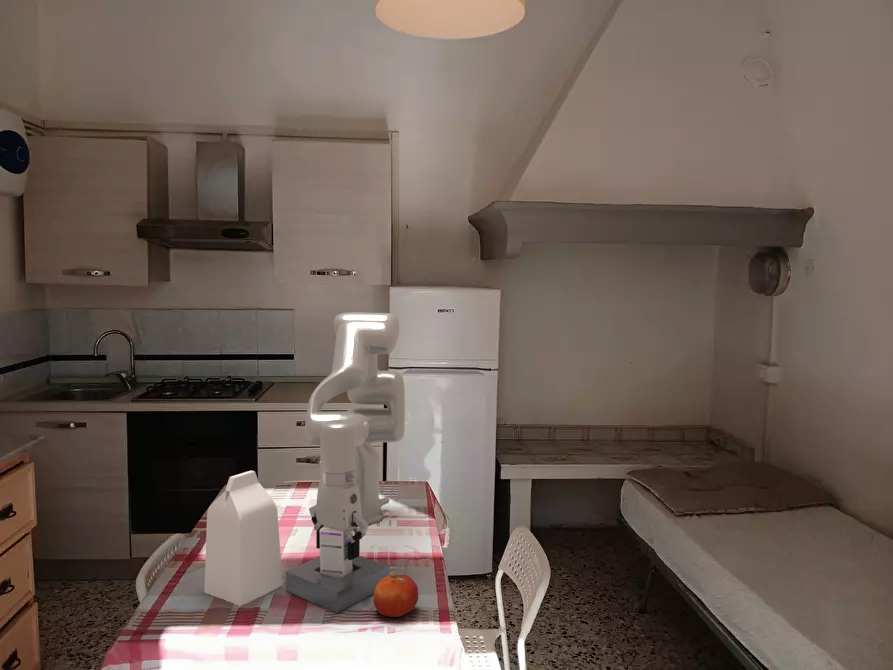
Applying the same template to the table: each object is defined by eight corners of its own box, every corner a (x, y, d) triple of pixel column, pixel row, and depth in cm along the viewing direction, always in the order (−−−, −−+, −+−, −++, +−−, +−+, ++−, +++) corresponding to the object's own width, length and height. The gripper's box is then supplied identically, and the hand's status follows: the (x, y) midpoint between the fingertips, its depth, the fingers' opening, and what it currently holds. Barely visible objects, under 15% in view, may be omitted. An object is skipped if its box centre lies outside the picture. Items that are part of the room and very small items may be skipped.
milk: (240, 607, 144) (239, 486, 142) (204, 592, 150) (202, 476, 148) (282, 585, 154) (281, 472, 152) (247, 572, 161) (245, 463, 158)
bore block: (338, 566, 164) (338, 548, 164) (388, 585, 155) (388, 566, 154) (285, 590, 152) (285, 571, 151) (337, 613, 142) (337, 592, 142)
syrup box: (344, 595, 150) (344, 530, 149) (319, 592, 151) (319, 528, 150) (354, 583, 155) (354, 521, 154) (329, 580, 157) (329, 519, 155)
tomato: (369, 622, 139) (370, 584, 138) (376, 600, 148) (377, 564, 147) (415, 624, 138) (416, 586, 138) (419, 602, 148) (420, 566, 147)
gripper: (378, 480, 149) (378, 557, 150) (323, 465, 159) (323, 537, 161) (354, 489, 143) (354, 568, 144) (297, 473, 153) (298, 547, 155)
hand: (337, 552), depth 152 cm, fingers open, 9 cm apart
